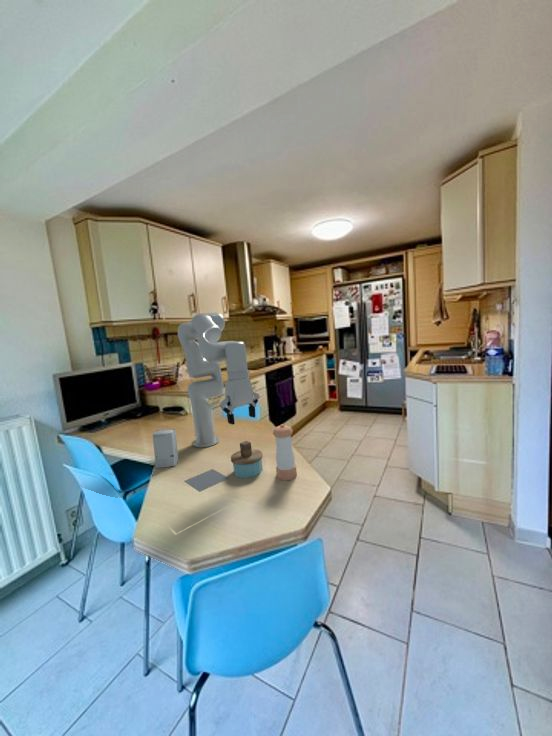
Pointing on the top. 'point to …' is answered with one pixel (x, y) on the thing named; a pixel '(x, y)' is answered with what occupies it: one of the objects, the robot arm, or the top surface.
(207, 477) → the mat
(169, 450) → the skincare box
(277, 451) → the salt shaker
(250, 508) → the top surface
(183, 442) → the top surface
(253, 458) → the lid
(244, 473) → the bowl
